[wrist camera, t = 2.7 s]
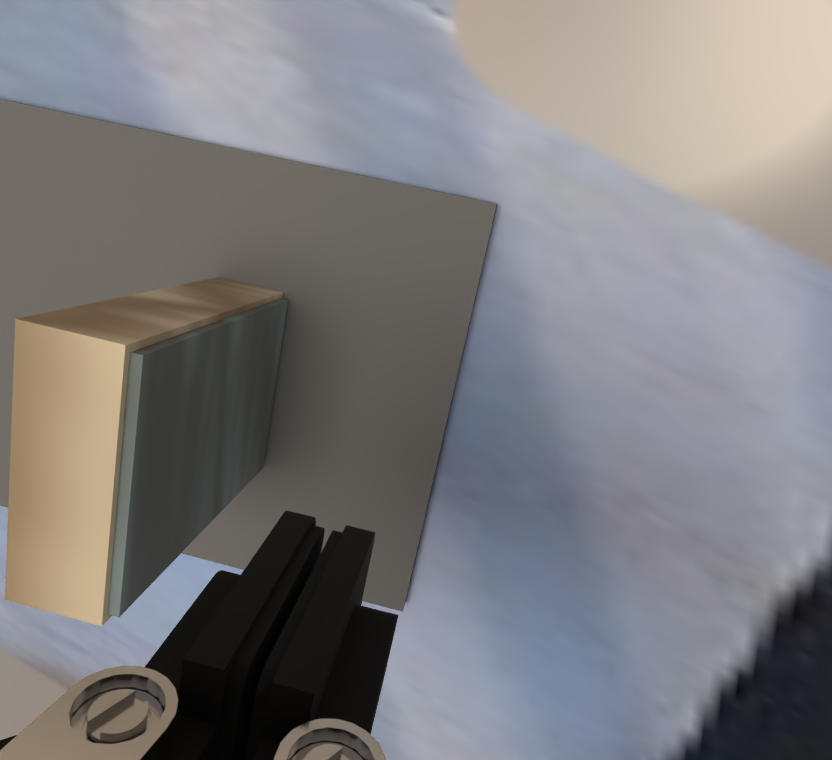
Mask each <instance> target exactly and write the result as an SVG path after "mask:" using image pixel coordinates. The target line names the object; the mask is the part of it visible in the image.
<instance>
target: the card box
mask: <svg viewBox="0 0 832 760" xmlns="http://www.w3.org/2000/svg"><path fill="white" fill-rule="evenodd" d="M282 297H283V292H280V291H275V290H271V289H267V288H262V287H258V286H254V285H249V284H245V283H240V282H236V281H232V280H227V279H223V278H218V277H216V278H211V279H206V280H202V281H197V282H192V283H187V284H182V285H177V286H172V287H168V288H163V289H158V290H153V291H148V292H143V293H138V294H133V295H129V296H124V297H119V298H114V299H109V300H104V301H99V302H95V303H90V304H85V305H80V306H75V307H70V308H65V309H60V310H56V311H51V312H46V313H41V314H36V315H31V316H26V317H22V318H17V319H15V341H14V369H13V396H12V424H11V451H10V479H9V506H8V534H7V561H6V589H5V600H9V601H12V602H16V603H19V604H23V605H27V606H30V607H34V608H38V609H41V610H45V611H48V612H52V613H56V614H59V615H63V616H67V617H70V618H74V619H78V620H81V621H85V622H88V623H92V624H96V625H99V626H102V625H103V624H104V623H105V622H106V621H107V620H108V619H109V618H110V617H111V616H112V615H113V616H116V617H120V616H121V615H122V614H123V613H124V612H125V611H126V610H127V609H128V607H129V606H130V605H131V604H132V603H133V602H134V601H135V600H136V599H137V598H138V597H139V596H140V595H141V594H142V593H143V592H144V591H145V590H146V589H147V588H148V587H149V586H150V585H151V584H152V583H153V582H154V581H155V580H156V578H157V577H158V576H159V575H160V574H161V573H162V572H163V571H164V570H165V569H166V568H167V567H168V566H169V565H170V564H171V563H172V562H173V561H174V560H175V559H176V558H177V557H178V556H179V555H180V554H181V553H182V552H183V551H184V549H185V548H186V547H187V546H188V545H189V544H190V543H191V542H192V541H193V540H194V539H195V538H196V537H197V536H198V535H199V534H200V533H201V532H202V531H203V530H204V529H205V528H206V527H207V526H208V525H209V524H210V523H211V521H212V520H213V519H214V518H215V517H216V516H217V515H218V514H219V513H220V512H221V511H222V510H223V509H224V508H225V507H226V506H227V505H228V504H229V503H230V502H231V501H232V500H233V499H234V498H235V497H236V496H237V495H238V494H239V492H240V491H241V490H242V489H243V488H244V487H245V486H246V485H247V484H248V483H249V482H250V481H251V480H252V479H253V478H254V477H255V476H256V475H257V474H258V473H259V472H260V471H261V470H262V469H263V466H264V459H265V453H266V446H267V439H268V433H269V426H270V420H271V413H272V407H273V400H274V393H275V387H276V380H277V374H278V367H279V360H280V354H281V347H282V341H283V334H284V327H285V321H286V314H287V308H288V301H289V300H286V299H282Z"/></svg>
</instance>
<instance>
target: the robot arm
mask: <svg viewBox="0 0 832 760" xmlns="http://www.w3.org/2000/svg"><path fill="white" fill-rule="evenodd" d="M324 533H325V529H324V528H322V527H318V526H316V518H315V517H312V516H307V515H303V514H299V513H295V512H291V511H285V512H284V513H283V515H282V516H281V517H280V519H279V520H278V522H277V523H276V525H275V526H274V528H273V529H272V530H271V532H270V533H269V535H268V536H267V538H266V539H265V541H264V542H263V544H262V545H261V546H260V548H259V549H258V551H257V552H256V554H255V555H254V557H253V558H252V560H251V561H250V562H249V564H248V565H247V567H246V568H245V570H244V571H243V573H242V574H241V575H238V574H234V573H230V572H226V571H223V570H222V571H219V572H217V573H216V574H215V576H214V577H213V578H212V579H211V581H210V582H209V583H208V585H207V586H206V587H205V588H204V590H203V591H202V592H201V594H200V595H199V596H198V598H197V599H196V600H195V602H194V603H193V604H192V606H191V607H190V608H189V610H188V611H187V612H186V614H185V615H184V616H183V617H182V619H181V620H180V621H179V623H178V624H177V625H176V627H175V628H174V629H173V631H172V632H171V633H170V635H169V636H168V637H167V639H166V640H165V641H164V642H163V644H162V645H161V646H160V648H159V649H158V650H157V652H156V653H155V654H154V656H153V657H152V658H151V660H150V661H149V662H148V664H147V665H146V666H145V667H141V666H119V667H114V668H109V669H104V670H102V671H99V672H97V673H94V674H92V675H89V676H87V677H86V678H84V679H83V680H81V681H80V682H78V683H77V684H75V685H74V686H73V687H71V688H70V689H69V690H68V691H67V692H66V693H65V694H63V695H62V696H61V697H60V698H59V699H58V700H57V701H56V702H54V703H53V704H52V705H51V706H50V707H49V708H48V709H46V710H45V711H44V712H43V713H42V714H41V715H40V716H39V717H37V718H36V719H35V720H34V721H33V722H32V723H31V724H30V725H28V726H27V727H26V728H25V729H24V730H23V731H22V732H20V733H19V734H18V735H16V736H13V737H9V738H7V739H4V740H0V760H386V757H385V755H384V753H383V751H382V749H381V747H380V745H379V743H378V742H377V741H376V740H375V739H374V738H373V737H372V736H371V735H370V734H371V730H372V726H373V721H374V717H375V713H376V709H377V705H378V701H379V696H380V692H381V688H382V684H383V680H384V675H385V671H386V667H387V662H388V658H389V654H390V649H391V645H392V641H393V636H394V632H395V627H396V623H397V618H398V615H395V614H391V613H387V612H383V611H380V610H376V609H372V608H368V607H364V606H361V603H362V598H363V593H364V588H365V584H366V579H367V574H368V569H369V564H370V560H371V555H372V550H373V545H374V540H375V532H372V531H368V530H364V529H360V528H356V527H352V526H348V525H346V527H345V528H344V530H343V532H339V531H335V530H333V531H332V533H331V534H330V536H329V538H328V540H327V542H326V544H325V546H324V548H323V550H322V545H323V539H324ZM321 550H322V552H321Z"/></svg>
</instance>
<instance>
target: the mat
mask: <svg viewBox="0 0 832 760" xmlns="http://www.w3.org/2000/svg"><path fill="white" fill-rule="evenodd" d="M496 206H497V204H495V203H490V202H485V201H480V200H476V199H471V198H466V197H461V196H457V195H452V194H447V193H443V192H438V191H433V190H428V189H424V188H419V187H414V186H409V185H405V184H400V183H395V182H390V181H386V180H381V179H376V178H372V177H367V176H362V175H357V174H353V173H348V172H343V171H338V170H334V169H329V168H324V167H319V166H315V165H310V164H305V163H300V162H296V161H291V160H286V159H282V158H277V157H272V156H267V155H263V154H258V153H253V152H248V151H244V150H239V149H234V148H229V147H225V146H220V145H215V144H211V143H206V142H201V141H196V140H192V139H187V138H182V137H177V136H173V135H168V134H163V133H158V132H154V131H149V130H144V129H139V128H135V127H130V126H125V125H121V124H116V123H111V122H106V121H102V120H97V119H92V118H87V117H83V116H78V115H73V114H68V113H64V112H59V111H54V110H50V109H45V108H40V107H35V106H31V105H26V104H21V103H16V102H12V101H7V100H2V99H0V506H4V507H8V506H9V479H10V451H11V424H12V396H13V369H14V341H15V319H17V318H22V317H26V316H31V315H36V314H41V313H46V312H51V311H56V310H60V309H65V308H70V307H75V306H80V305H85V304H90V303H95V302H99V301H104V300H109V299H114V298H119V297H124V296H129V295H133V294H138V293H143V292H148V291H153V290H158V289H163V288H168V287H172V286H177V285H182V284H187V283H192V282H197V281H202V280H206V279H211V278H216V277H218V278H223V279H227V280H232V281H236V282H240V283H245V284H249V285H254V286H258V287H262V288H267V289H271V290H275V291H280V292H283V297H282V299H286V300H289V301H288V308H287V314H286V321H285V327H284V334H283V341H282V347H281V354H280V360H279V367H278V374H277V380H276V387H275V393H274V400H273V407H272V413H271V420H270V426H269V433H268V439H267V446H266V453H265V459H264V466H263V469H262V470H261V471H260V472H259V473H258V474H257V475H256V476H255V477H254V478H253V479H252V480H251V481H250V482H249V483H248V484H247V485H246V486H245V487H244V488H243V489H242V490H241V491H240V492H239V494H238V495H237V496H236V497H235V498H234V499H233V500H232V501H231V502H230V503H229V504H228V505H227V506H226V507H225V508H224V509H223V510H222V511H221V512H220V513H219V514H218V515H217V516H216V517H215V518H214V519H213V520H212V521H211V523H210V524H209V525H208V526H207V527H206V528H205V529H204V530H203V531H202V532H201V533H200V534H199V535H198V536H197V537H196V538H195V539H194V540H193V541H192V542H191V543H190V544H189V545H188V546H187V547H186V548H185V549H184V551H183V552H182V553H183V554H186V555H190V556H194V557H198V558H202V559H205V560H209V561H213V562H217V563H221V564H224V565H228V566H232V567H236V568H240V569H243V570H245V568H246V567H247V565H248V564H249V562H250V561H251V560H252V558H253V557H254V555H255V554H256V552H257V551H258V549H259V548H260V546H261V545H262V544H263V542H264V541H265V539H266V538H267V536H268V535H269V533H270V532H271V530H272V529H273V528H274V526H275V525H276V523H277V522H278V520H279V519H280V517H281V516H282V515H283V513H284V512H285V511H291V512H295V513H299V514H303V515H307V516H312V517H315V518H316V526H318V527H322V528H324V529H325V533H324V539H323V545H322V550H323V548H324V546H325V544H326V542H327V540H328V538H329V536H330V534H331V533H332V531H333V530H335V531H339V532H343V530H344V528H345V527H346V525H348V526H352V527H356V528H360V529H364V530H368V531H372V532H375V540H374V545H373V550H372V555H371V560H370V564H369V569H368V574H367V579H366V584H365V588H364V593H363V598H362V601H365V602H369V603H373V604H376V605H380V606H384V607H388V608H392V609H395V610H399V611H403V609H404V605H405V601H406V597H407V592H408V588H409V584H410V579H411V575H412V571H413V566H414V562H415V558H416V553H417V549H418V545H419V540H420V536H421V532H422V527H423V523H424V519H425V514H426V510H427V506H428V501H429V497H430V493H431V488H432V484H433V480H434V475H435V471H436V466H437V462H438V458H439V453H440V449H441V445H442V440H443V436H444V432H445V427H446V423H447V419H448V414H449V410H450V406H451V401H452V397H453V393H454V388H455V384H456V380H457V375H458V371H459V367H460V362H461V358H462V354H463V349H464V345H465V341H466V336H467V332H468V328H469V323H470V319H471V315H472V310H473V306H474V302H475V297H476V293H477V289H478V284H479V280H480V276H481V271H482V267H483V263H484V258H485V254H486V250H487V245H488V241H489V237H490V232H491V228H492V223H493V219H494V215H495V210H496ZM322 550H321V552H322Z"/></svg>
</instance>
